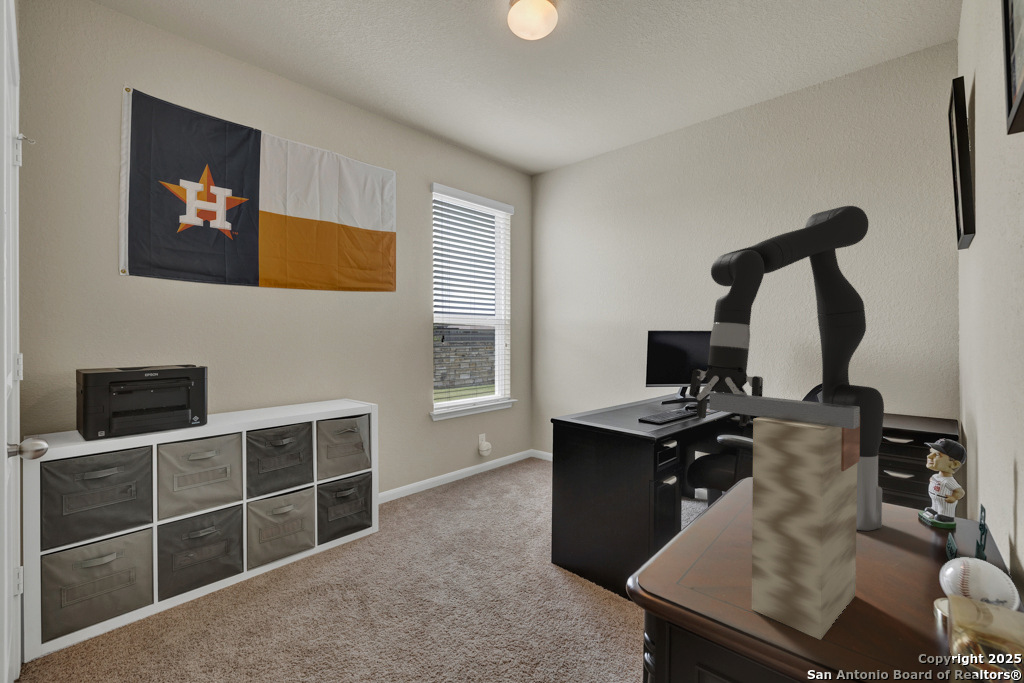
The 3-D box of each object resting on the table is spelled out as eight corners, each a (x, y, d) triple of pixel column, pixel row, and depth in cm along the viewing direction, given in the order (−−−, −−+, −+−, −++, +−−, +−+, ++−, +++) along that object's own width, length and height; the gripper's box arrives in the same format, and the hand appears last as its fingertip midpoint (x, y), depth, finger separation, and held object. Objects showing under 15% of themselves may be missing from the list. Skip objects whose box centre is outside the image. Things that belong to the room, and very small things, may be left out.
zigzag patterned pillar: (751, 609, 77) (753, 418, 76) (792, 572, 89) (794, 406, 88) (822, 641, 69) (825, 428, 68) (857, 596, 81) (860, 414, 80)
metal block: (709, 409, 85) (709, 393, 85) (717, 407, 87) (717, 392, 87) (853, 429, 68) (853, 408, 68) (859, 426, 70) (859, 406, 70)
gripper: (771, 349, 95) (764, 427, 95) (704, 344, 106) (696, 415, 106) (758, 346, 90) (750, 429, 90) (688, 342, 101) (681, 416, 101)
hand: (721, 421), depth 98 cm, fingers open, 8 cm apart
